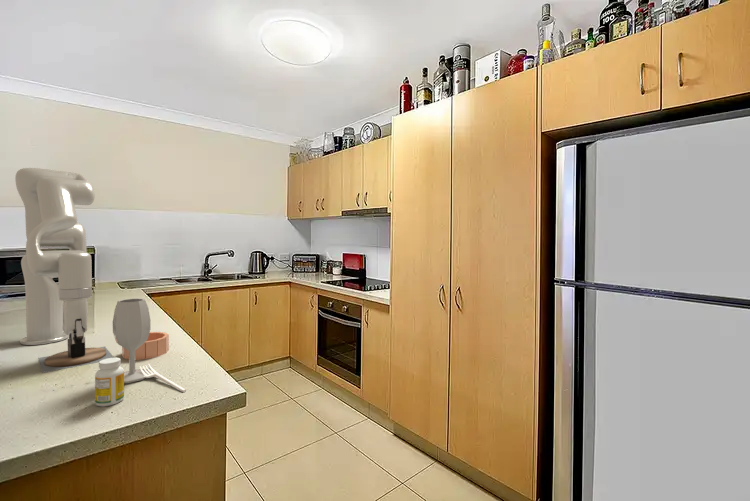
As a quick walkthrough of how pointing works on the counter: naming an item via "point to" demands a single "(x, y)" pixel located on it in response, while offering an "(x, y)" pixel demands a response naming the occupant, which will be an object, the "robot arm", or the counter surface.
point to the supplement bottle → (109, 382)
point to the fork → (159, 377)
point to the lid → (65, 357)
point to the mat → (49, 369)
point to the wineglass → (131, 331)
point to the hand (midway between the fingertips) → (76, 353)
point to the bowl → (151, 346)
